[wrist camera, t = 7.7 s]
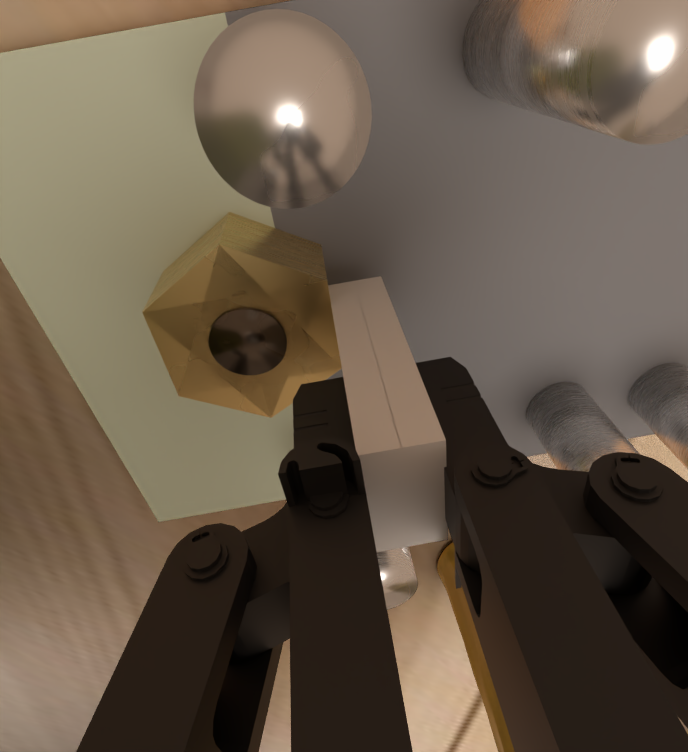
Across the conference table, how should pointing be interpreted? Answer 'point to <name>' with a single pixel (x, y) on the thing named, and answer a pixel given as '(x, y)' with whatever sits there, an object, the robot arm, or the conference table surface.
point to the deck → (336, 235)
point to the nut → (245, 317)
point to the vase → (474, 650)
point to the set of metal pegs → (493, 80)
